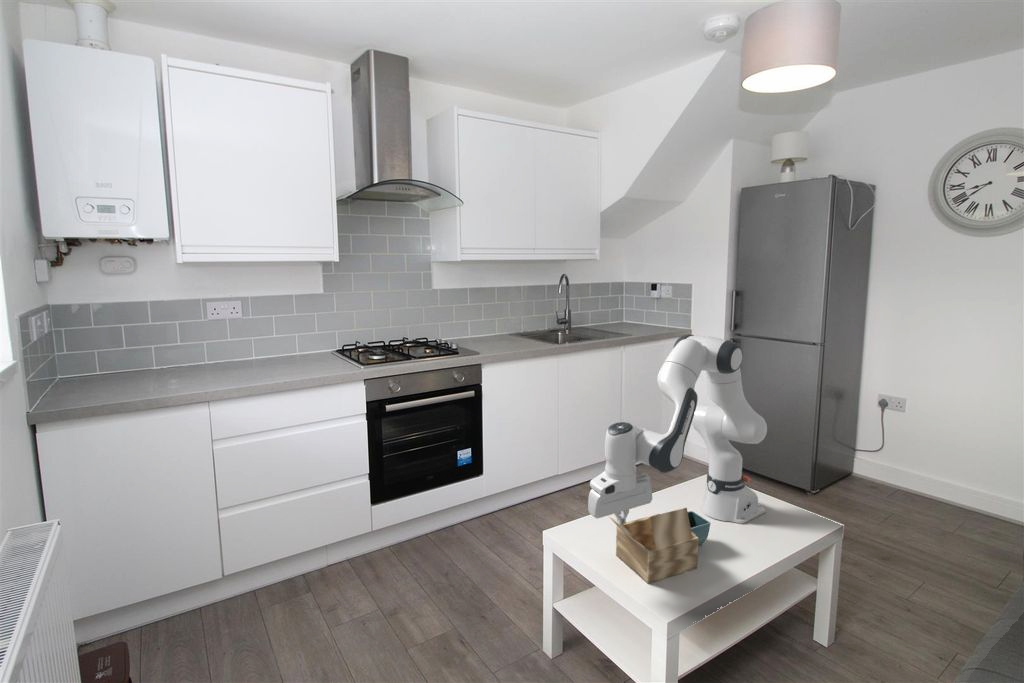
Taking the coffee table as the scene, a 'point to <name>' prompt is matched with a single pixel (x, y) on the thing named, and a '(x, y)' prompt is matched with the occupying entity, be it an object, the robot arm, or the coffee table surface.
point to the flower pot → (699, 527)
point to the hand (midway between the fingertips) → (621, 523)
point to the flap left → (671, 528)
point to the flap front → (624, 529)
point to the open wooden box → (654, 552)
